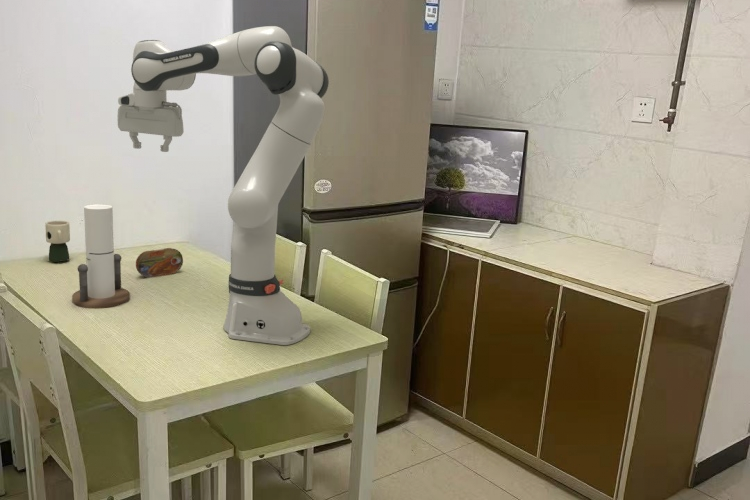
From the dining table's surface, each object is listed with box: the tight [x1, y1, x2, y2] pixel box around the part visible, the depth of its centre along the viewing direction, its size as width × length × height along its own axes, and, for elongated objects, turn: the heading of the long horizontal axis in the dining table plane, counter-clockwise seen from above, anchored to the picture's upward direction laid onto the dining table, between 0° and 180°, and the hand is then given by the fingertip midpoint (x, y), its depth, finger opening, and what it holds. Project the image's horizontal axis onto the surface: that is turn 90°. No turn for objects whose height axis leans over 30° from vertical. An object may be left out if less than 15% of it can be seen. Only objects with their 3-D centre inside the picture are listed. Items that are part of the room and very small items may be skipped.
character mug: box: [44, 220, 71, 263], centre depth 225 cm, size 11×7×13 cm, turn 30°
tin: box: [135, 247, 184, 279], centre depth 219 cm, size 15×3×8 cm, turn 133°
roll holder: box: [71, 253, 131, 309], centre depth 192 cm, size 15×16×12 cm
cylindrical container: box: [83, 203, 115, 299], centre depth 190 cm, size 7×7×25 cm
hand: (150, 150), depth 196 cm, fingers open, 8 cm apart
